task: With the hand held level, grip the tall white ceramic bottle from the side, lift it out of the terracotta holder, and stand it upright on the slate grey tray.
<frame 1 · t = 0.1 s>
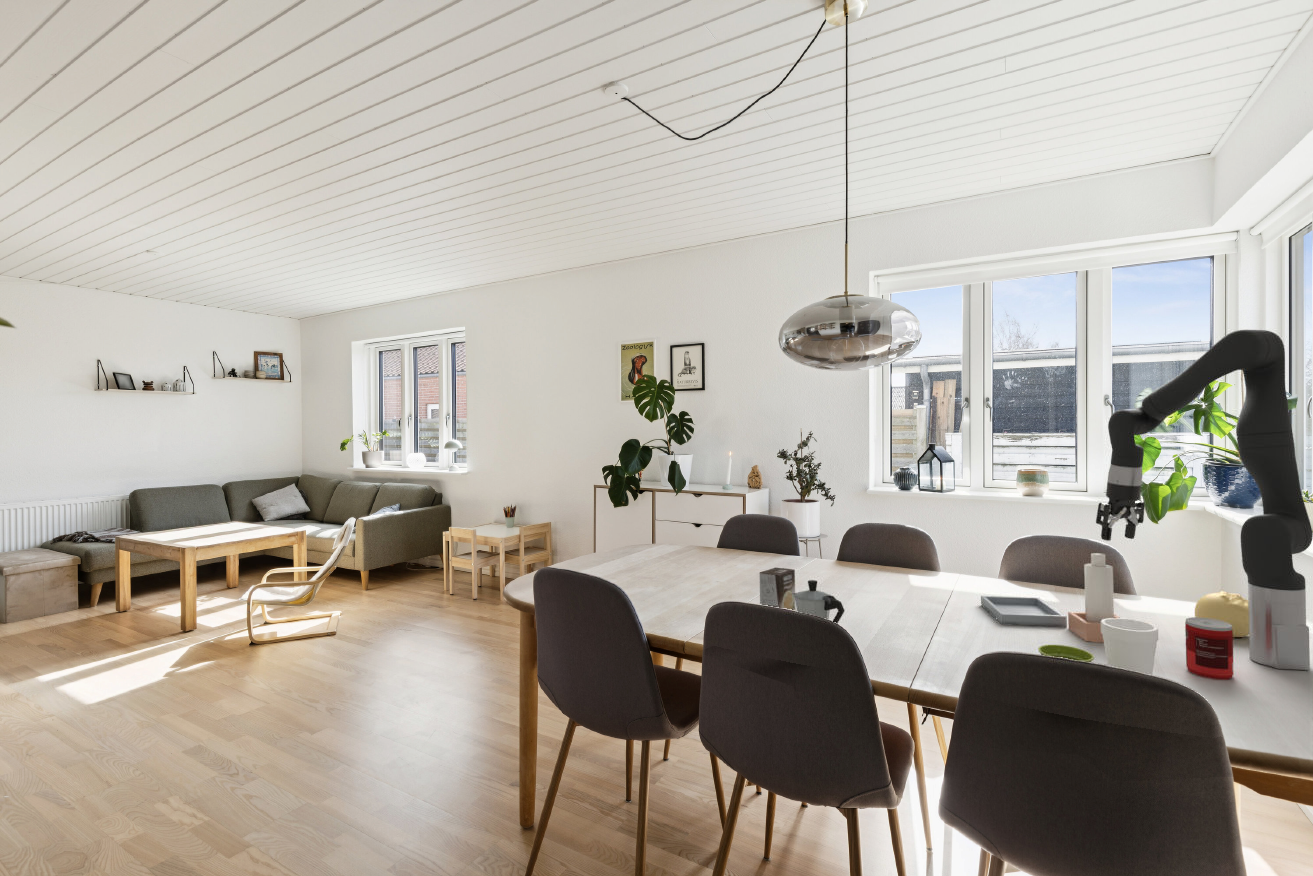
hand: (1117, 539, 176), 22 cm above the table, tool pointing down, fingers open, 8 cm apart
tray: (1021, 615, 182), on the table
bottle: (1099, 595, 162), in the holder
coffee maker: (818, 656, 153), on the table
foam cup: (1130, 688, 130), on the table
sculpture: (1225, 634, 161), on the table
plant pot: (1066, 696, 127), on the table
holder: (1099, 635, 162), on the table
canned food: (1209, 674, 136), on the table
coffee box: (778, 629, 175), on the table
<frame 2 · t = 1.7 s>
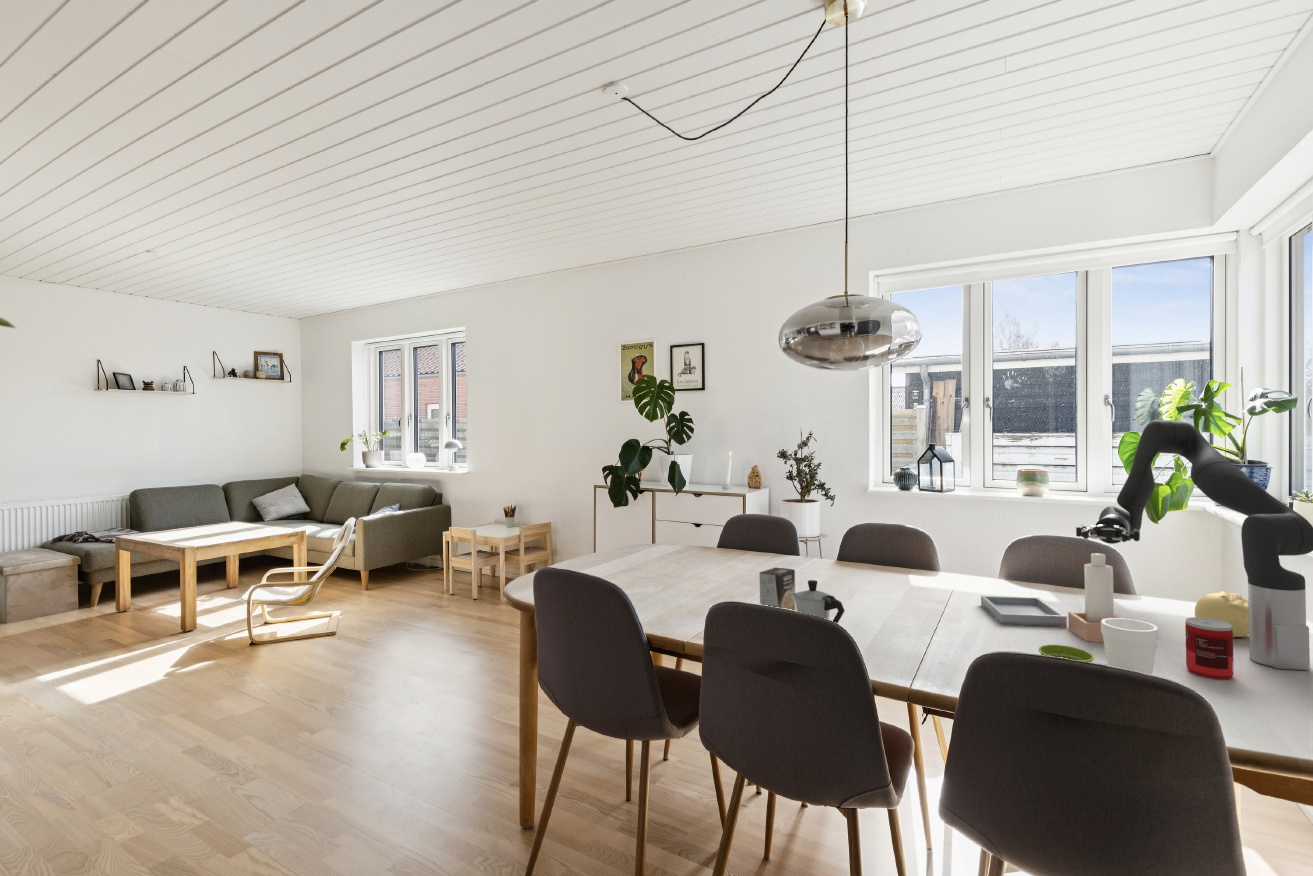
hand: (1104, 536, 170), 24 cm above the table, tool horizontal, fingers open, 8 cm apart
nothing on the table moved.
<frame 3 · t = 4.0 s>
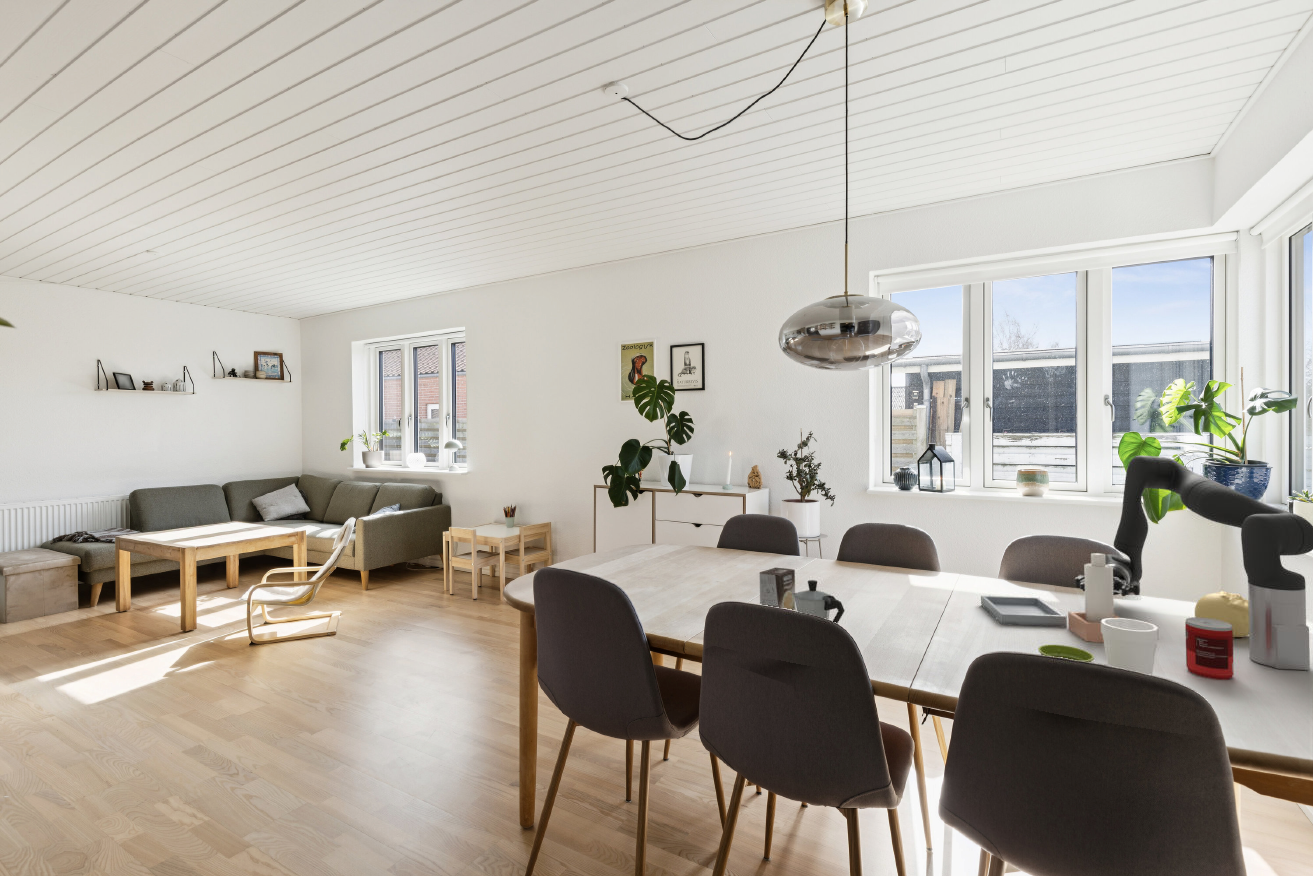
hand: (1103, 589, 167), 10 cm above the table, tool horizontal, fingers open, 8 cm apart
nothing on the table moved.
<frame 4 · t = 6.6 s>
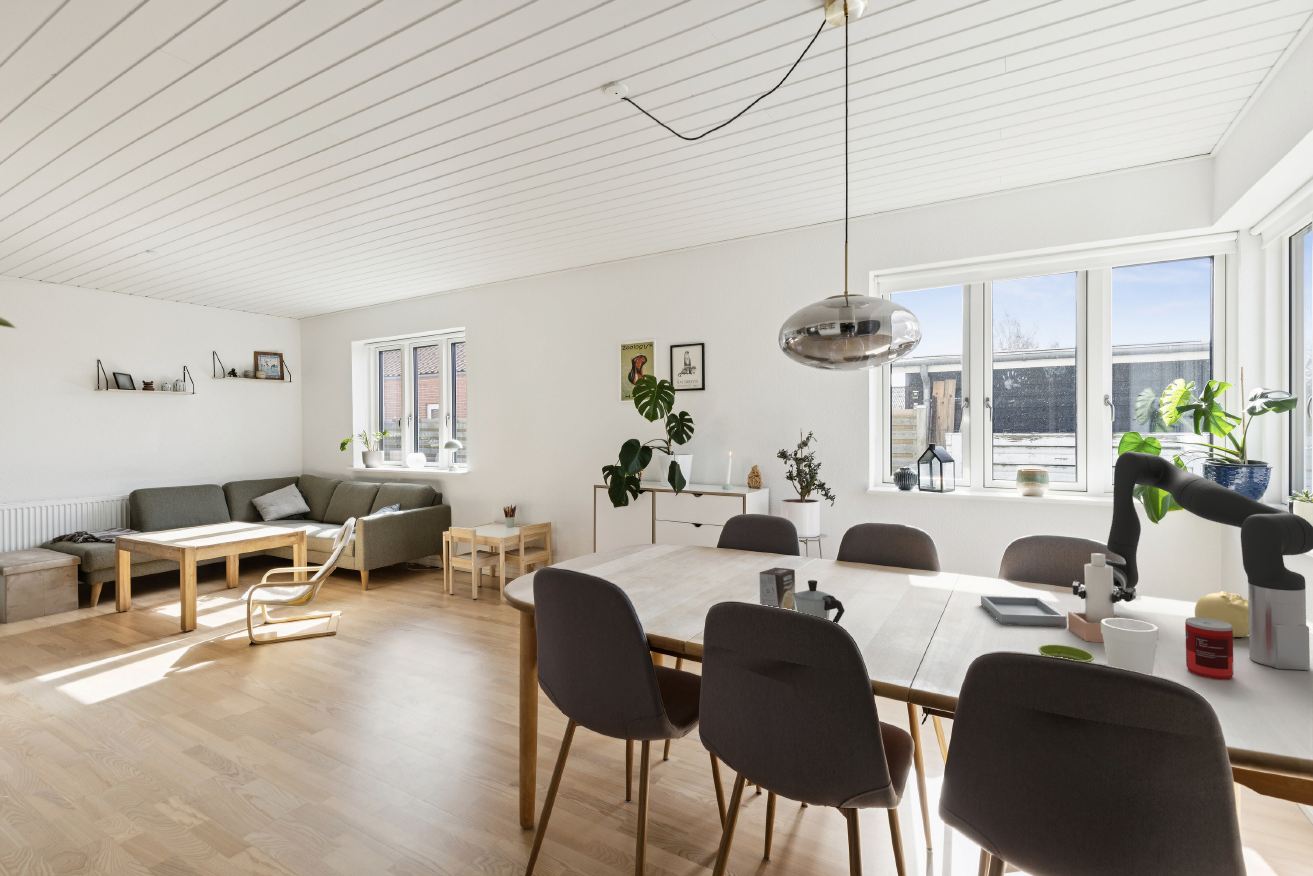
hand: (1097, 596, 160), 11 cm above the table, tool horizontal, fingers closed on bottle, 6 cm apart
bottle: (1099, 595, 162), in the holder, touching gripper
everything else where it was.
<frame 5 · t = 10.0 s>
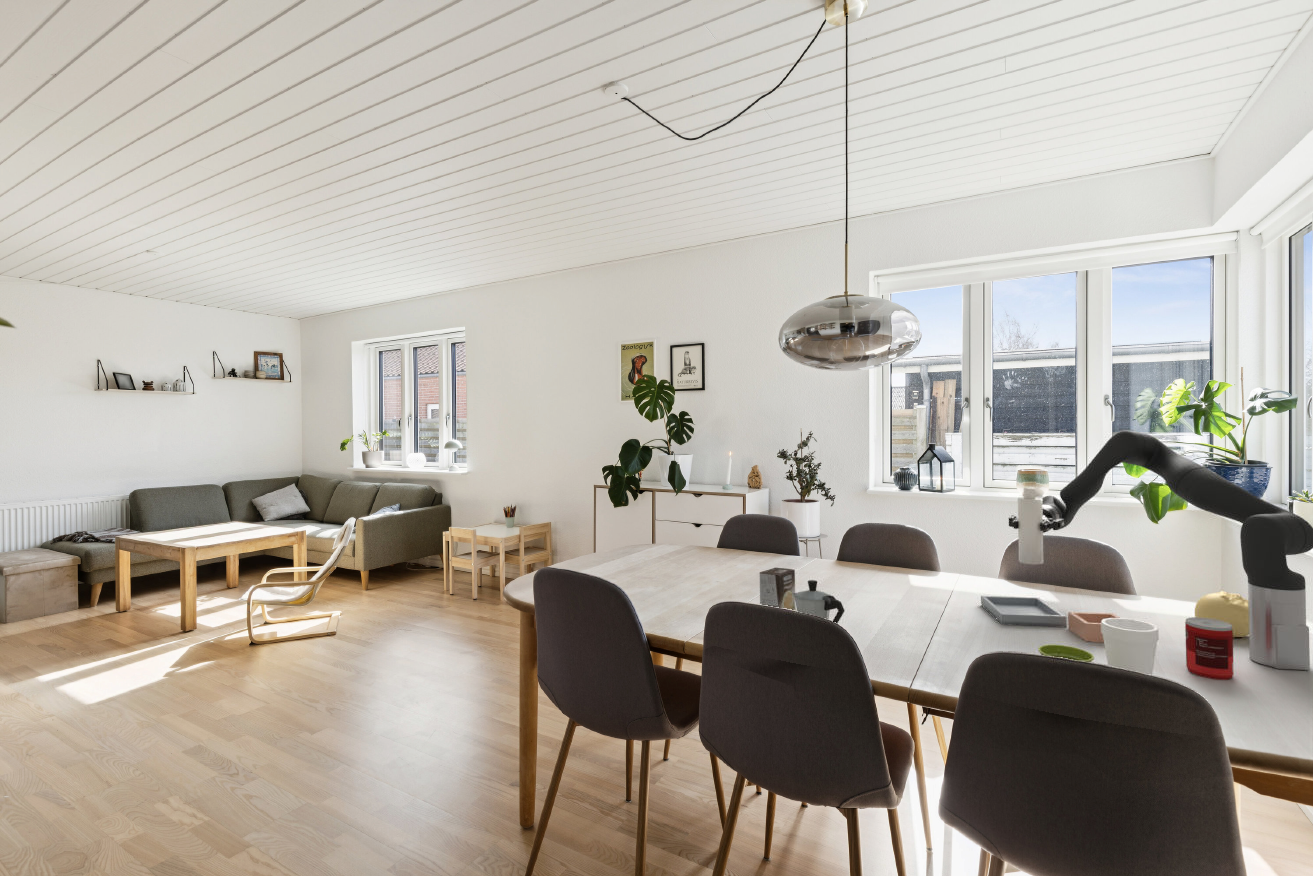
hand: (1028, 526, 177), 26 cm above the table, tool horizontal, fingers closed on bottle, 6 cm apart
bottle: (1030, 525, 178), point 26 cm above the table, touching gripper
everything else where it was.
when the fingers open (12 cm above the table, at t = 13.7 s): bottle stays where it is, resting on tray.
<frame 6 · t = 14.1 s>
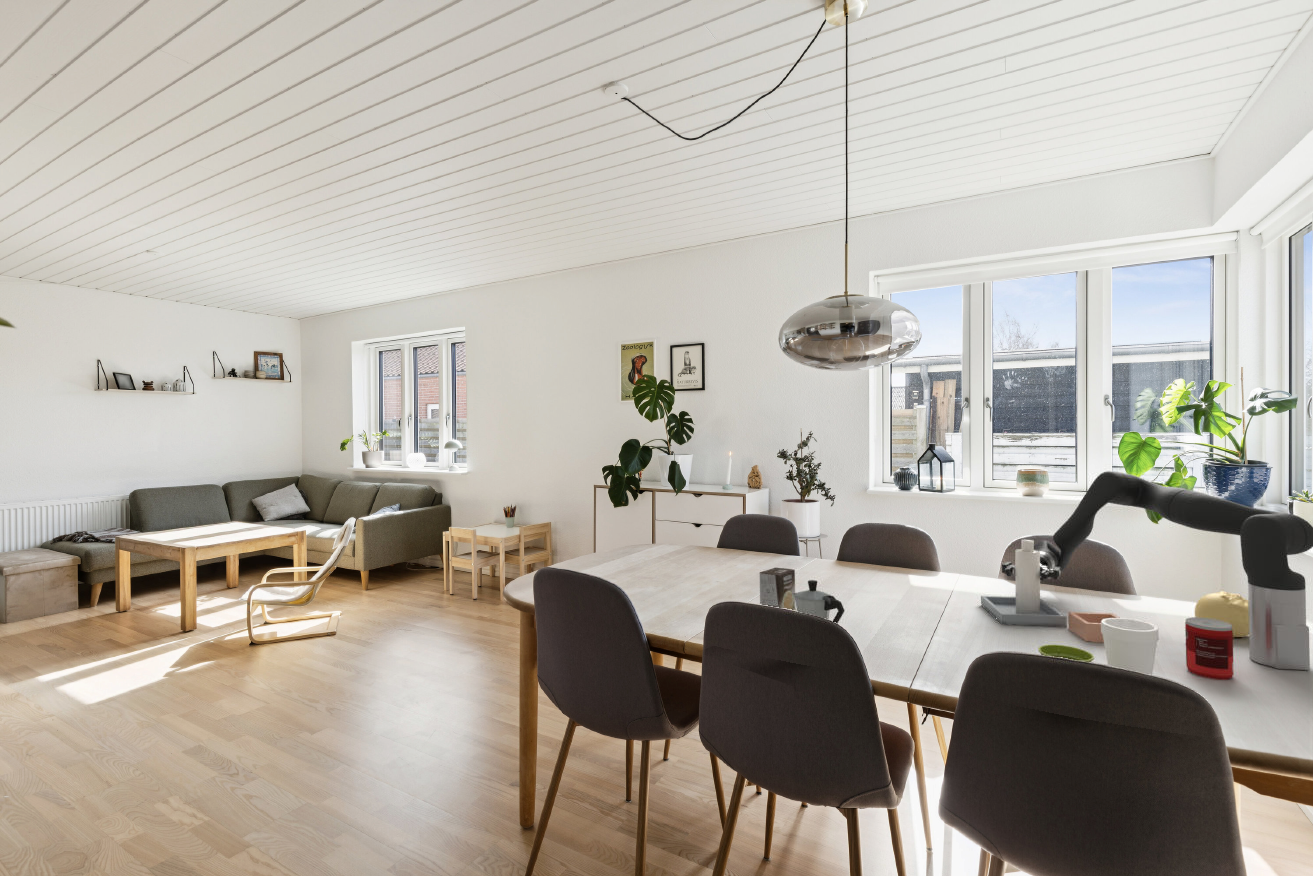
hand: (1024, 574, 178), 13 cm above the table, tool horizontal, fingers open, 8 cm apart
bottle: (1027, 577, 179), in the tray, point 11 cm above the table
everything else where it was.
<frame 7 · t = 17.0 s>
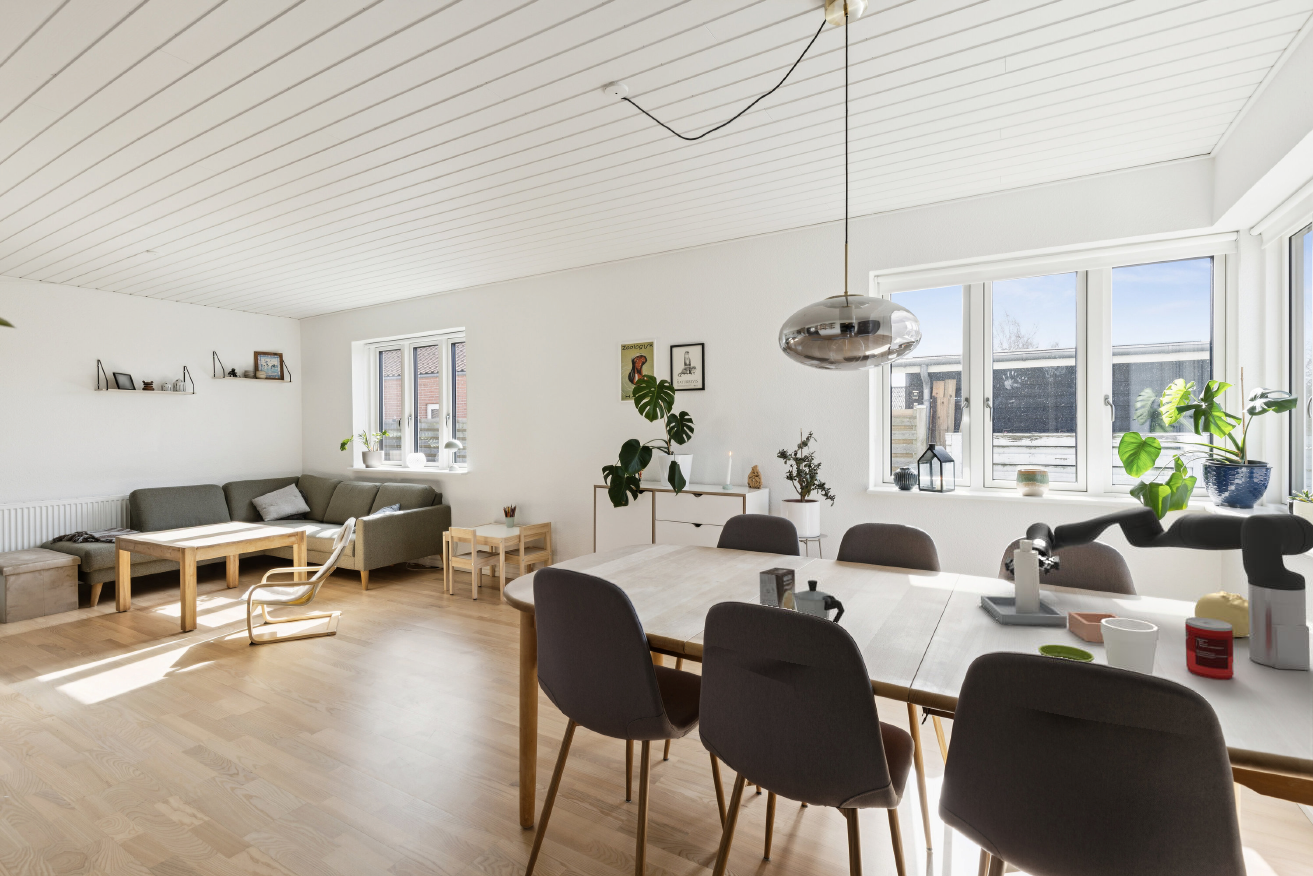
hand: (1029, 571, 186), 12 cm above the table, tool horizontal, fingers open, 8 cm apart
nothing on the table moved.
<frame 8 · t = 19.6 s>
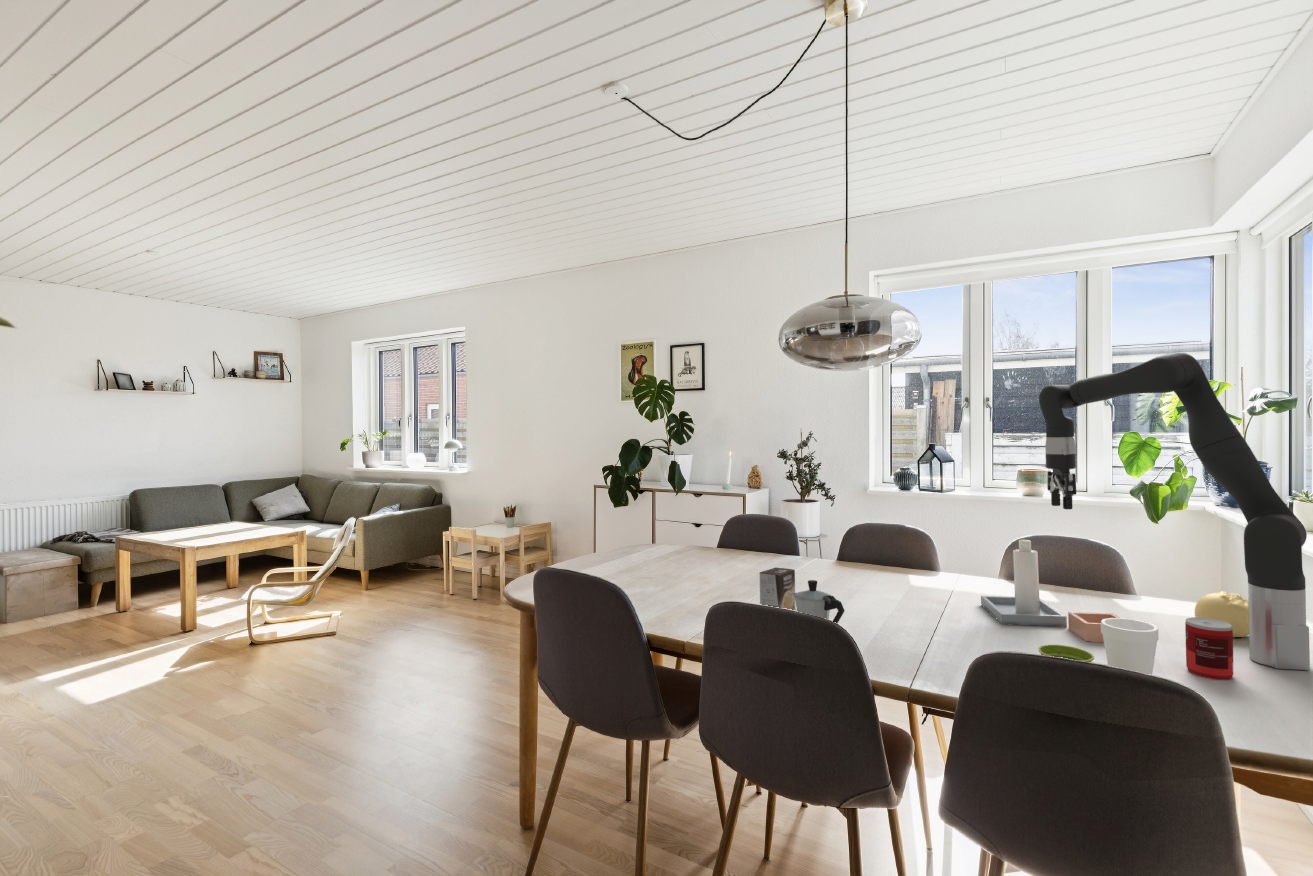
hand: (1061, 507, 186), 30 cm above the table, tool pointing down, fingers open, 8 cm apart
nothing on the table moved.
at the end: bottle inside the target area on the tray (2.2 cm from its centre), point 11.3 cm above the tray's base; bottle tilted 1°; the gripper is holding nothing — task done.
